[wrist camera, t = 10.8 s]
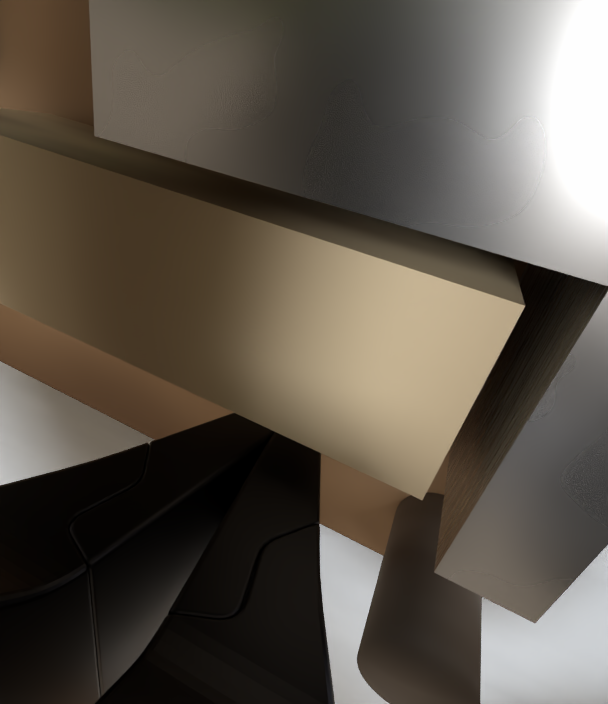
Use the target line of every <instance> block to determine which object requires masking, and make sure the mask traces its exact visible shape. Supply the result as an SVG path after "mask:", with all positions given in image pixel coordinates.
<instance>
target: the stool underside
mask: <svg viewBox="0 0 608 704" xmlns="http://www.w3.org/2000/svg"><path fill="white" fill-rule="evenodd" d="M0 108H6V109H15V110H23V111H31V112H39V113H48V114H53V115H57V116H60V117H63V118H67V119H70V120H74V121H77V122H80V123H84V124H87V125H91V126H94V112H93V88H92V64H91V40H90V16H89V0H0ZM512 259H513V258H512ZM513 263H514V266H515V270H516V274H517V277H518V281H519V280H520V278H521V276H522V274H523V272H524V270H525V268H526V266H527V264H528V263H527V262H523V261H520V260H517V259H513ZM0 361H1V362H3V363H5V364H7V365H9V366H11V367H13V368H15V369H17V370H19V371H21V372H23V373H25V374H27V375H29V376H31V377H33V378H35V379H37V380H39V381H41V382H43V383H45V384H47V385H48V386H50V387H52V388H54V389H56V390H58V391H60V392H62V393H64V394H66V395H68V396H70V397H72V398H74V399H76V400H78V401H80V402H82V403H84V404H86V405H88V406H90V407H92V408H94V409H96V410H98V411H100V412H102V413H104V414H106V415H108V416H109V417H111V418H113V419H115V420H117V421H119V422H121V423H123V424H125V425H127V426H129V427H131V428H133V429H135V430H137V431H139V432H141V433H143V434H145V435H147V436H149V437H151V438H153V439H155V440H157V439H160V438H163V437H165V436H168V435H171V434H174V433H177V432H180V431H183V430H186V429H188V428H191V427H194V426H197V425H200V424H203V423H206V422H208V421H211V420H214V419H217V418H220V417H223V416H226V415H229V414H231V413H234V412H232V411H230V410H227V409H225V408H223V407H221V406H219V405H217V404H215V403H212V402H210V401H208V400H206V399H204V398H202V397H200V396H197V395H195V394H193V393H191V392H189V391H187V390H185V389H182V388H180V387H178V386H176V385H174V384H172V383H170V382H167V381H165V380H163V379H161V378H159V377H157V376H155V375H152V374H150V373H148V372H146V371H144V370H142V369H140V368H137V367H135V366H133V365H131V364H129V363H127V362H125V361H122V360H120V359H118V358H116V357H114V356H112V355H110V354H107V353H105V352H103V351H101V350H99V349H97V348H95V347H92V346H90V345H88V344H86V343H84V342H82V341H80V340H77V339H75V338H73V337H71V336H69V335H67V334H65V333H62V332H60V331H58V330H56V329H54V328H52V327H50V326H47V325H45V324H43V323H41V322H39V321H37V320H35V319H32V318H30V317H28V316H26V315H24V314H22V313H20V312H17V311H15V310H13V309H11V308H9V307H7V306H5V305H2V304H0ZM449 455H450V449H449V451H448V453H447V455H446V456H445V458H444V460H443V462H442V464H441V466H440V468H439V470H438V472H437V473H436V475H435V477H434V479H433V481H432V483H431V485H430V487H429V489H428V490H427V492H426V494H425V496H424V498H423V500H420V499H418V498H416V497H414V496H412V495H410V494H407V493H405V492H403V491H401V490H399V489H397V488H395V487H392V486H390V485H388V484H386V483H384V482H382V481H380V480H377V479H375V478H373V477H371V476H369V475H367V474H365V473H362V472H360V471H358V470H356V469H354V468H352V467H350V466H347V465H345V464H343V463H341V462H339V461H337V460H335V459H332V458H330V457H328V456H326V455H324V454H322V453H321V486H320V524H322V525H324V526H326V527H328V528H330V529H332V530H334V531H336V532H338V533H340V534H342V535H344V536H346V537H348V538H350V539H352V540H354V541H356V542H358V543H359V544H361V545H363V546H365V547H367V548H369V549H371V550H373V551H375V552H377V553H379V554H381V555H383V556H384V557H383V561H382V565H381V568H380V572H379V576H378V580H377V583H376V587H375V591H374V595H373V598H372V602H371V606H370V610H369V613H368V617H367V621H366V625H365V628H364V632H363V636H362V640H361V643H360V647H359V651H358V655H357V664H358V668H359V670H360V673H361V674H362V676H363V678H364V679H365V681H366V682H367V683H368V685H369V686H370V687H371V688H372V689H373V690H374V691H375V692H376V693H377V694H378V695H379V696H380V697H382V698H383V699H384V700H386V701H387V702H388V703H390V704H480V673H481V601H482V596H480V595H478V594H476V593H474V592H472V591H470V590H468V589H466V588H464V587H462V586H460V585H458V584H456V583H454V582H452V581H450V580H448V579H446V578H444V577H442V576H440V575H438V574H436V573H434V568H435V561H436V553H437V545H438V538H439V530H440V523H441V515H442V508H443V500H444V493H445V485H446V477H447V470H448V462H449Z"/></svg>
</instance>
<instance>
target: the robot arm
mask: <svg viewBox="0 0 608 704" xmlns="http://www.w3.org/2000/svg"><path fill="white" fill-rule="evenodd" d="M320 486H321V453H320V452H317V451H315V450H313V449H311V448H309V447H307V446H305V445H302V444H300V443H298V442H296V441H294V440H292V439H290V438H287V437H285V436H283V435H281V434H279V433H277V432H275V431H272V430H270V429H268V428H266V427H264V426H262V425H260V424H257V423H255V422H253V421H251V420H249V419H247V418H245V417H242V416H240V415H238V414H236V413H231V414H229V415H226V416H223V417H220V418H217V419H214V420H211V421H208V422H206V423H203V424H200V425H197V426H194V427H191V428H188V429H186V430H183V431H180V432H177V433H174V434H171V435H168V436H165V437H163V438H160V439H157V440H154V441H151V442H150V444H148V443H145V444H142V445H139V446H136V447H133V448H131V449H128V450H125V451H122V452H119V453H115V454H112V455H109V456H106V457H103V458H100V459H97V460H94V461H90V462H86V463H83V464H79V465H76V466H72V467H69V468H65V469H61V470H58V471H54V472H50V473H46V474H42V475H39V476H35V477H31V478H27V479H23V480H20V481H16V482H12V483H8V484H4V485H0V704H335V702H334V694H333V686H332V678H331V670H330V662H329V653H328V645H327V637H326V629H325V621H324V613H323V603H322V592H321V580H320V527H319V524H320Z"/></svg>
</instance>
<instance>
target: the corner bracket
mask: <svg viewBox="0 0 608 704" xmlns="http://www.w3.org/2000/svg"><path fill="white" fill-rule="evenodd" d="M89 16H90V40H91V64H92V88H93V112H94V136H96V137H100V138H103V139H106V140H110V141H113V142H117V143H120V144H124V145H127V146H130V147H134V148H137V149H141V150H144V151H147V152H151V153H154V154H158V155H161V156H165V157H168V158H171V159H175V160H178V161H182V162H185V163H189V164H192V165H195V166H199V167H202V168H206V169H209V170H212V171H216V172H219V173H223V174H226V175H230V176H233V177H236V178H240V179H243V180H247V181H250V182H253V183H257V184H260V185H264V186H267V187H271V188H274V189H277V190H281V191H284V192H288V193H291V194H294V195H298V196H301V197H305V198H308V199H312V200H315V201H318V202H322V203H325V204H329V205H332V206H335V207H339V208H342V209H346V210H349V211H353V212H356V213H359V214H363V215H366V216H370V217H373V218H377V219H380V220H383V221H387V222H390V223H394V224H397V225H400V226H404V227H407V228H411V229H414V230H418V231H421V232H424V233H428V234H431V235H435V236H438V237H441V238H445V239H448V240H452V241H455V242H459V243H462V244H465V245H469V246H472V247H476V248H479V249H482V250H486V251H489V252H493V253H496V254H500V255H503V256H506V257H510V258H513V259H517V260H520V261H523V262H527V263H528V264H527V266H526V268H525V270H524V272H523V274H522V276H521V278H520V280H519V285H520V288H521V292H522V296H523V299H524V303H525V307H524V309H523V311H522V313H521V315H520V317H519V319H518V321H517V322H516V324H515V326H514V328H513V330H512V332H511V334H510V336H509V338H508V339H507V341H506V343H505V345H504V347H503V349H502V351H501V353H500V355H499V356H498V358H497V360H496V362H495V364H494V366H493V368H492V370H491V372H490V373H489V375H488V377H487V379H486V381H485V383H484V385H483V387H482V389H481V390H480V392H479V394H478V396H477V398H476V400H475V402H474V404H473V406H472V407H471V409H470V411H469V413H468V415H467V417H466V419H465V421H464V423H463V424H462V426H461V428H460V430H459V432H458V434H457V436H456V438H455V440H454V441H453V443H452V445H451V447H450V455H449V462H448V470H447V477H446V485H445V493H444V500H443V508H442V515H441V523H440V530H439V538H438V545H437V553H436V561H435V568H434V573H436V574H438V575H440V576H442V577H444V578H446V579H448V580H450V581H452V582H454V583H456V584H458V585H460V586H462V587H464V588H466V589H468V590H470V591H472V592H474V593H476V594H478V595H480V596H482V597H484V598H486V599H488V600H490V601H492V602H494V603H496V604H498V605H500V606H502V607H504V608H506V609H508V610H510V611H512V612H514V613H516V614H518V615H520V616H522V617H524V618H526V619H528V620H530V621H532V622H534V623H536V622H537V621H538V620H539V618H540V617H541V616H542V615H543V614H544V613H545V612H546V611H547V610H548V609H549V608H550V607H551V605H552V604H553V603H554V602H555V601H556V600H557V599H558V598H559V597H560V596H561V595H562V594H563V592H564V591H565V590H566V589H567V588H568V587H569V586H570V585H571V584H572V583H573V582H574V581H575V579H576V578H577V577H578V576H579V575H580V574H581V573H582V572H583V571H584V570H585V569H586V568H587V566H588V565H589V564H590V563H591V562H592V561H593V560H594V559H595V558H596V557H597V556H598V555H599V553H600V552H601V551H602V550H603V549H604V548H605V547H606V546H607V545H608V0H89Z"/></svg>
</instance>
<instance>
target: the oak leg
mask: <svg viewBox="0 0 608 704" xmlns="http://www.w3.org/2000/svg"><path fill="white" fill-rule="evenodd" d="M0 304H2V305H5V306H7V307H9V308H11V309H13V310H15V311H17V312H20V313H22V314H24V315H26V316H28V317H30V318H32V319H35V320H37V321H39V322H41V323H43V324H45V325H47V326H50V327H52V328H54V329H56V330H58V331H60V332H62V333H65V334H67V335H69V336H71V337H73V338H75V339H77V340H80V341H82V342H84V343H86V344H88V345H90V346H92V347H95V348H97V349H99V350H101V351H103V352H105V353H107V354H110V355H112V356H114V357H116V358H118V359H120V360H122V361H125V362H127V363H129V364H131V365H133V366H135V367H137V368H140V369H142V370H144V371H146V372H148V373H150V374H152V375H155V376H157V377H159V378H161V379H163V380H165V381H167V382H170V383H172V384H174V385H176V386H178V387H180V388H182V389H185V390H187V391H189V392H191V393H193V394H195V395H197V396H200V397H202V398H204V399H206V400H208V401H210V402H212V403H215V404H217V405H219V406H221V407H223V408H225V409H227V410H230V411H232V412H234V413H236V414H238V415H240V416H242V417H245V418H247V419H249V420H251V421H253V422H255V423H257V424H260V425H262V426H264V427H266V428H268V429H270V430H272V431H275V432H277V433H279V434H281V435H283V436H285V437H287V438H290V439H292V440H294V441H296V442H298V443H300V444H302V445H305V446H307V447H309V448H311V449H313V450H315V451H317V452H320V453H322V454H324V455H326V456H328V457H330V458H332V459H335V460H337V461H339V462H341V463H343V464H345V465H347V466H350V467H352V468H354V469H356V470H358V471H360V472H362V473H365V474H367V475H369V476H371V477H373V478H375V479H377V480H380V481H382V482H384V483H386V484H388V485H390V486H392V487H395V488H397V489H399V490H401V491H403V492H405V493H407V494H410V495H412V496H414V497H416V498H418V499H420V500H423V498H424V496H425V494H426V492H427V490H428V489H429V487H430V485H431V483H432V481H433V479H434V477H435V475H436V473H437V472H438V470H439V468H440V466H441V464H442V462H443V460H444V458H445V456H446V455H447V453H448V451H449V449H450V447H451V445H452V443H453V441H454V440H455V438H456V436H457V434H458V432H459V430H460V428H461V426H462V424H463V423H464V421H465V419H466V417H467V415H468V413H469V411H470V409H471V407H472V406H473V404H474V402H475V400H476V398H477V396H478V394H479V392H480V390H481V389H482V387H483V385H484V383H485V381H486V379H487V377H488V375H489V373H490V372H491V370H492V368H493V366H494V364H495V362H496V360H497V358H498V356H499V355H500V353H501V351H502V349H503V347H504V345H505V343H506V341H507V339H508V338H509V336H510V334H511V332H512V330H513V328H514V326H515V324H516V322H517V321H518V319H519V317H520V315H521V313H522V311H523V309H524V307H525V303H524V299H523V296H522V292H521V288H520V285H519V281H518V277H517V274H516V270H515V266H514V263H513V259H512V258H510V257H506V256H503V255H500V254H496V253H493V252H489V251H486V250H482V249H479V248H476V247H472V246H469V245H465V244H462V243H459V242H455V241H452V240H448V239H445V238H441V237H438V236H435V235H431V234H428V233H424V232H421V231H418V230H414V229H411V228H407V227H404V226H400V225H397V224H394V223H390V222H387V221H383V220H380V219H377V218H373V217H370V216H366V215H363V214H359V213H356V212H353V211H349V210H346V209H342V208H339V207H335V206H332V205H329V204H325V203H322V202H318V201H315V200H312V199H308V198H305V197H301V196H298V195H294V194H291V193H288V192H284V191H281V190H277V189H274V188H271V187H267V186H264V185H260V184H257V183H253V182H250V181H247V180H243V179H240V178H236V177H233V176H230V175H226V174H223V173H219V172H216V171H212V170H209V169H206V168H202V167H199V166H195V165H192V164H189V163H185V162H182V161H178V160H175V159H171V158H168V157H165V156H161V155H158V154H154V153H151V152H147V151H144V150H141V149H137V148H134V147H130V146H127V145H124V144H120V143H117V142H113V141H110V140H106V139H103V138H100V137H96V136H94V126H91V125H87V124H84V123H80V122H77V121H74V120H70V119H67V118H63V117H60V116H57V115H53V114H48V113H39V112H31V111H23V110H15V109H6V108H0Z"/></svg>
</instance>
